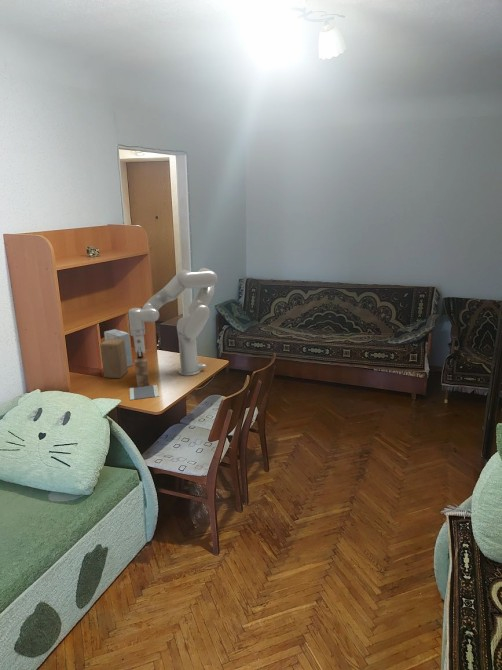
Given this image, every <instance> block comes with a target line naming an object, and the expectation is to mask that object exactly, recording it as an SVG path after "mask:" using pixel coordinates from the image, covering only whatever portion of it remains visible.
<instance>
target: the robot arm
mask: <svg viewBox="0 0 502 670" xmlns="http://www.w3.org/2000/svg"><path fill="white" fill-rule="evenodd" d="M217 282H218V275H217V273H216V272H215V271H213V270H211V269H209V268H206V267H201V268H200V269H198V270H197V271H190V270H187V269H181V270H180V271H178V272H177V273H176V275H175V276H173V278H172V279H171V280H170V281H169V282H168V283H167V284H166V285H165V286H164V287H163V288H162V289H160V290H159V291H157V292H156V293H155V294H154V295H152V296H151V297H150V298H149V299H148V300H147V301H146V302H145V303H144V305H143V306H142V308H140V307H132V308H130V309H129V310H128V323H129V331H130V333H129V334H130V336H131V337H132V338H133V345H134V350H135V354H136V355H137V357H136V358H142V357H144V354H146V346H145V337H144V335H146V328H145V327H146V326H145V323H154V322H156V321H158V320H159V318H160V312H159V310H160V308H162V306H164V305H165V304H167V303H169V302H172V301H175V300H177V299H178V297H179V296H180V295H181V294H182V293H183V292H184V291H185V290H186V289H198V290H197V292H196V294H195V295H194V297H193V299H192V301H191V302H190V304H189V306H188V308H187V311H188V314H189V315H190V316H183V317H181V318H179V319H178V321H177V323H176V331H177V337H178V349H179V351H178V352H179V360H180V361H179V362H180V363H179V365H180V368H179V369H178V370H177V371H178V372H177V373H178V374H179V375H181V376H187V377H188V376H189V377H190V376H195V375H198V374H199V373H201V371H202V369H204V368H205V369H206V368H207V365H206V363H199V362H198V350H197V337H198V336H199V335H200V334H201V332H202V330H203V329H204V327H205V325H206V323H207V322H208V320H209V318H210V314H211V312H210V311H211V309H210V308H209V305H210V302H211V300H212V299H213V297H214V294H215V285H216V284H217ZM201 368H202V369H201Z"/></svg>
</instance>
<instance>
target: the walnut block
mask: <svg viewBox="0 0 502 670" xmlns="http://www.w3.org/2000/svg"><path fill="white" fill-rule="evenodd" d="M147 360H148V359H147V356H143V357H142V358H137V357H134V366H135V367H134V368H135V376H136V377H135V378H136V385H137V386H136V387H144V386H150V381H149V379H150V378H149V369H148V361H147Z"/></svg>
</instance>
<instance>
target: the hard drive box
mask: <svg viewBox="0 0 502 670" xmlns="http://www.w3.org/2000/svg"><path fill="white" fill-rule="evenodd" d="M103 335H104V341H105V340H107V339H124V342H125V351H126V360H127V368H130V367H131V366H133V357H132V356H133V355H132V348H131V340H130V339H131V338H130V333H128V332H126V331H122V330H119V329H115V328H114V329H110V330H106V331H104V332H103Z"/></svg>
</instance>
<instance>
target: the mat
mask: <svg viewBox="0 0 502 670" xmlns="http://www.w3.org/2000/svg"><path fill="white" fill-rule="evenodd" d="M158 397H160V395H159V387H158V385H157V384H153V385H149V386H144V387H137V386H136V387H130V388H129V401H133V400H136V401H137V400H142V399H150V398H158Z"/></svg>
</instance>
